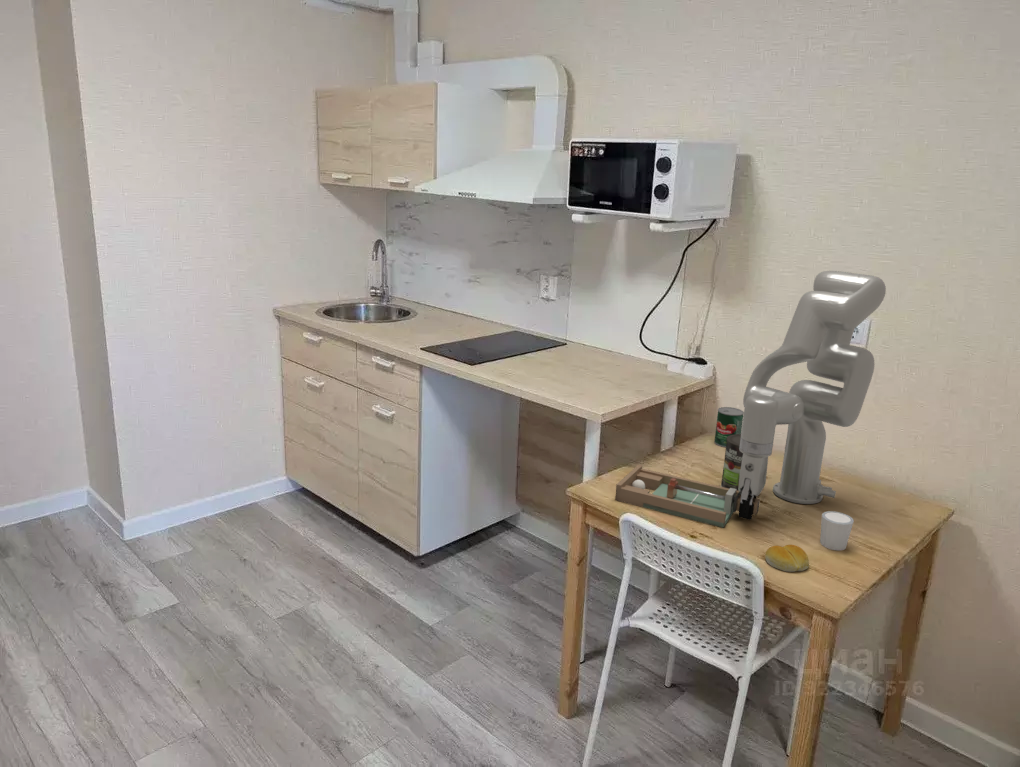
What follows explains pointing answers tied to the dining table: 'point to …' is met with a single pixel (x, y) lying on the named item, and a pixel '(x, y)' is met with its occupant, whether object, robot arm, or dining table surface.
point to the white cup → (835, 530)
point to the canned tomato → (728, 424)
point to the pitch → (677, 497)
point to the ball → (638, 484)
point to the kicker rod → (708, 495)
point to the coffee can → (732, 462)
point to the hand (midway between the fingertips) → (746, 514)
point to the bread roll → (787, 558)
